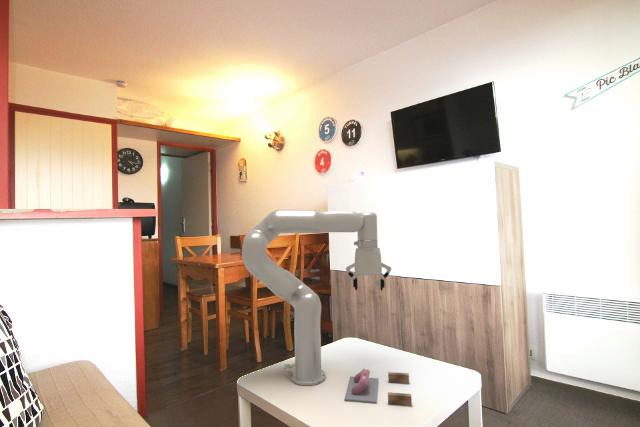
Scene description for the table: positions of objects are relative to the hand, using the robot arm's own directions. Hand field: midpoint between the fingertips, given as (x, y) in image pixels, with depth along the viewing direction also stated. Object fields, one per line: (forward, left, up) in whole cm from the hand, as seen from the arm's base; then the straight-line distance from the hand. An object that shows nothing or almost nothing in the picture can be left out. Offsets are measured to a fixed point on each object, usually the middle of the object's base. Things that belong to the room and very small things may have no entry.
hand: (368, 289), depth 131 cm
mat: (-2, -16, -30) cm, 34 cm away
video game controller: (-2, -16, -30) cm, 34 cm away
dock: (+10, -16, -30) cm, 36 cm away
